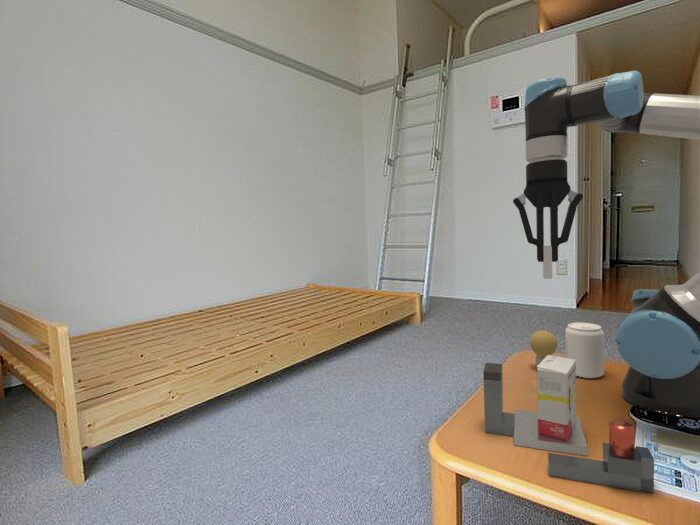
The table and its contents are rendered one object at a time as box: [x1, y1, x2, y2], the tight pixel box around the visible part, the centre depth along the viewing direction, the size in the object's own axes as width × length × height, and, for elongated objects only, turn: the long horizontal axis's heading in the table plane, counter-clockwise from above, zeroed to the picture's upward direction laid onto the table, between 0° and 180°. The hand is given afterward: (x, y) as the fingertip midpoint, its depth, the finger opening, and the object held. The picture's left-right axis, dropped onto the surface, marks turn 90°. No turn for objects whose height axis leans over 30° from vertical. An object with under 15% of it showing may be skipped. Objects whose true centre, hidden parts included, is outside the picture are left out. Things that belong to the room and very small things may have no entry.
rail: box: [547, 445, 655, 494], centre depth 60 cm, size 13×3×5 cm, turn 67°
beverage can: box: [565, 322, 605, 379], centre depth 100 cm, size 8×8×12 cm
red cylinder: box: [602, 419, 642, 478], centre depth 59 cm, size 4×4×6 cm
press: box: [483, 362, 588, 457], centre depth 74 cm, size 16×11×12 cm
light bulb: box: [529, 330, 558, 369], centre depth 104 cm, size 6×6×10 cm
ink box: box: [536, 354, 577, 441], centre depth 72 cm, size 9×5×12 cm, turn 142°
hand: (547, 277), depth 84 cm, fingers closed
